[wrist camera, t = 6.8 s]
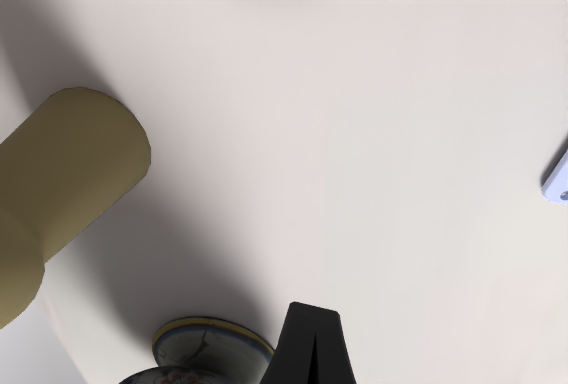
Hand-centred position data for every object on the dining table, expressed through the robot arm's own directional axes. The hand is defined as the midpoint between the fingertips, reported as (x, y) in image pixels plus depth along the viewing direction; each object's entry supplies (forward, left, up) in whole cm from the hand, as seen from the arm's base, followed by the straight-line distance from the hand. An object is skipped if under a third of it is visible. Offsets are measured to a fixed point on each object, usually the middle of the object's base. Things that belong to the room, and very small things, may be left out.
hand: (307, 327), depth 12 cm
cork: (+12, +2, -11) cm, 16 cm away
